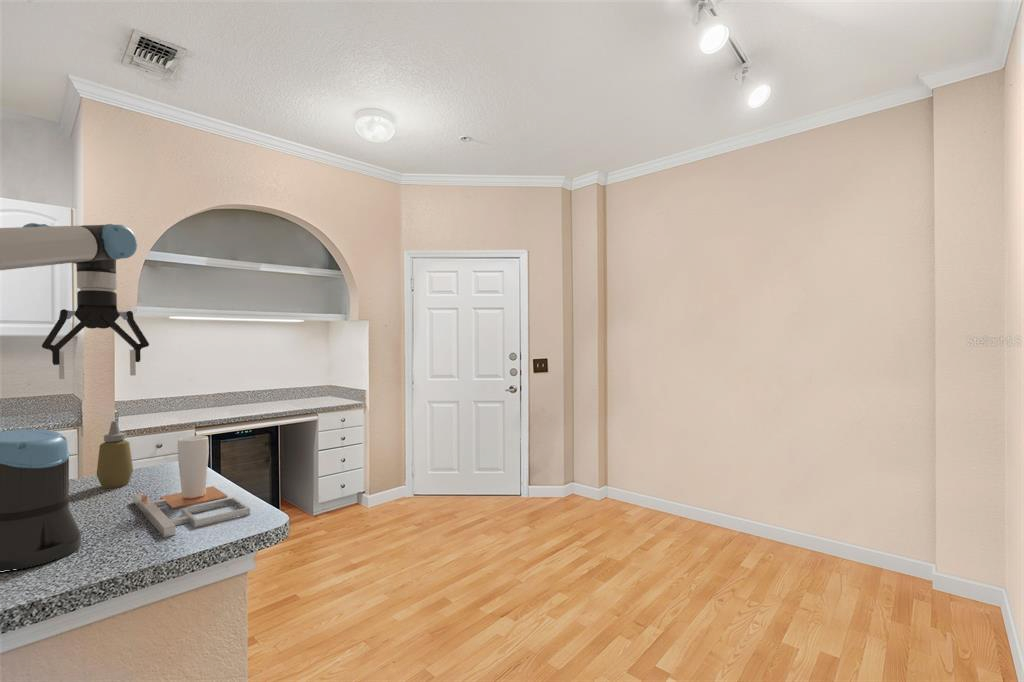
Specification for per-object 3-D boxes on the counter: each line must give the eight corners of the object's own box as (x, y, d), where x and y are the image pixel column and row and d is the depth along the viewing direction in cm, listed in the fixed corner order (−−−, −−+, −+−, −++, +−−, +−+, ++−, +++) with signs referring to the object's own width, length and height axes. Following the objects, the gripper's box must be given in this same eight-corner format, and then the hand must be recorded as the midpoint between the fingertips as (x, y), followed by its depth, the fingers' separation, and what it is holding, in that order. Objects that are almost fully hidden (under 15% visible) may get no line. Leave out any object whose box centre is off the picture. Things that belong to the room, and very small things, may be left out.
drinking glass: (206, 498, 128) (206, 439, 127) (175, 501, 125) (174, 441, 125) (211, 490, 134) (210, 434, 134) (181, 494, 131) (180, 436, 131)
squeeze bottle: (138, 484, 142) (137, 420, 142) (103, 491, 135) (102, 424, 135) (126, 479, 146) (125, 418, 146) (91, 486, 139) (90, 422, 139)
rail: (254, 515, 116) (254, 502, 116) (164, 537, 104) (163, 523, 104) (212, 486, 139) (211, 476, 139) (133, 502, 126) (133, 490, 126)
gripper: (155, 294, 135) (156, 373, 135) (26, 288, 117) (27, 379, 117) (161, 292, 130) (162, 374, 130) (27, 286, 112) (29, 381, 112)
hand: (98, 377), depth 124 cm, fingers open, 13 cm apart
